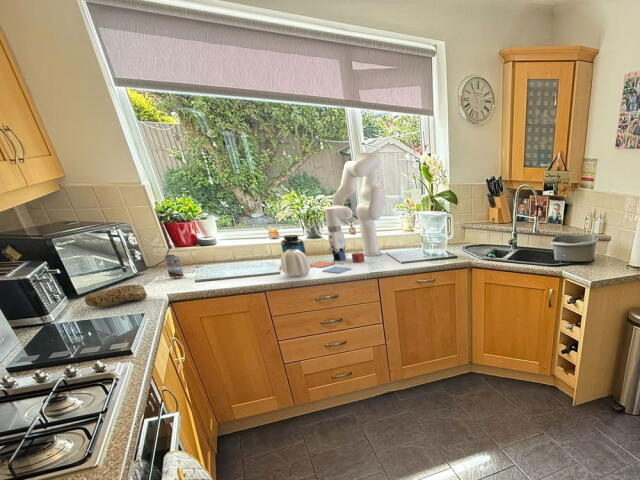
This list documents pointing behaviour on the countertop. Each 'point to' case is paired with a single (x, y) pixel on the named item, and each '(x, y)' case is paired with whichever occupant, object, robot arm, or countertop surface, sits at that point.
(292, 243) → the container
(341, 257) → the blue block
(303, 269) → the vase
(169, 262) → the beverage can
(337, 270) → the blue mat
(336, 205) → the robot arm
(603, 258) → the countertop surface
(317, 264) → the red mat
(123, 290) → the sponge
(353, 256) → the red block
